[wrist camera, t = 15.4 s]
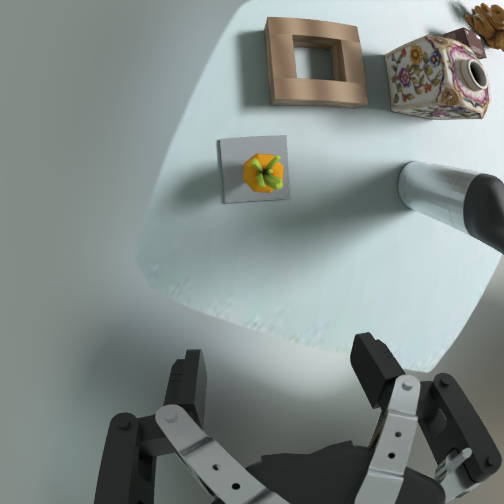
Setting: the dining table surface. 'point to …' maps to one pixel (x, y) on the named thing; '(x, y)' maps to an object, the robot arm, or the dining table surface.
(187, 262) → the dining table surface
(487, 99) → the decorative jar
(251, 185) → the carrot
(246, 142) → the rubber mat
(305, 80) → the socket block
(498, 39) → the stuffed squirrel
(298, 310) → the dining table surface
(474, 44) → the box
